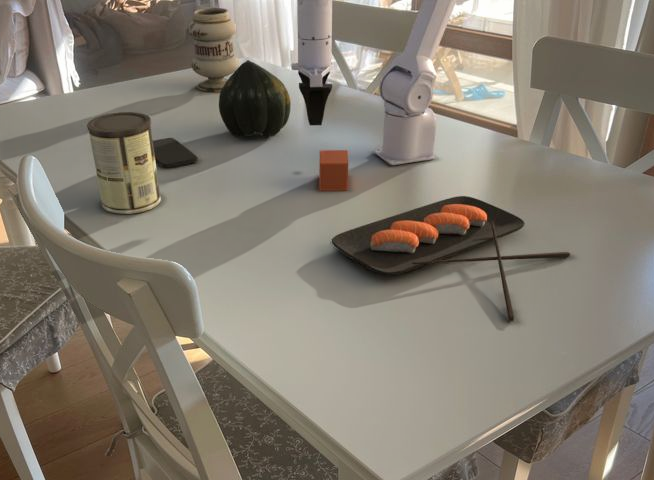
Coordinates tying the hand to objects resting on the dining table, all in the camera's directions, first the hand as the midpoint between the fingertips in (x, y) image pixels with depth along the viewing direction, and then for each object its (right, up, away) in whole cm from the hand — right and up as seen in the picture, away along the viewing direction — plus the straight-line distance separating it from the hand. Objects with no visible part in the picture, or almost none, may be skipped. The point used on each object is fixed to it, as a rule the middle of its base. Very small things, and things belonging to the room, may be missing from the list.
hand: (314, 117), depth 127 cm
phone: (-28, -2, +16) cm, 33 cm away
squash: (-11, +5, +26) cm, 28 cm away
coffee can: (-32, -16, -3) cm, 36 cm away
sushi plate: (+20, -29, -24) cm, 43 cm away
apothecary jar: (-22, +26, +57) cm, 66 cm away
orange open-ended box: (+3, -11, +1) cm, 12 cm away
